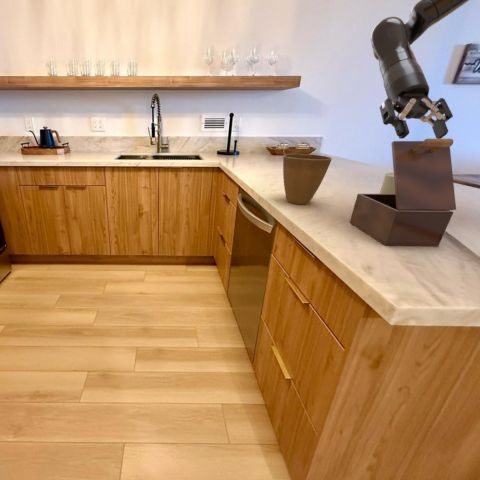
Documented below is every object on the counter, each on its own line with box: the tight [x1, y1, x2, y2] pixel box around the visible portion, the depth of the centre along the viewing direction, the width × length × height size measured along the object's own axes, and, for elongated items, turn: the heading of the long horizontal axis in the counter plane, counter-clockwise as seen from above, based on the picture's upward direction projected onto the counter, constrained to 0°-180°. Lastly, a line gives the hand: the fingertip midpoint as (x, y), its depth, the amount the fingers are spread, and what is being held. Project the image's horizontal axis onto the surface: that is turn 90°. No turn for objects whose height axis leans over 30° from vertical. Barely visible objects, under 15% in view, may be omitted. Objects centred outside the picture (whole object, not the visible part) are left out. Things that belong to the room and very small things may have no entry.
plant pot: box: [282, 153, 333, 205], centre depth 100 cm, size 15×15×16 cm
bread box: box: [349, 193, 454, 247], centre depth 75 cm, size 16×13×9 cm
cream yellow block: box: [378, 172, 395, 194], centre depth 91 cm, size 9×9×12 cm
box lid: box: [391, 138, 457, 211], centre depth 64 cm, size 16×13×6 cm
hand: (423, 136), depth 67 cm, fingers open, 8 cm apart
